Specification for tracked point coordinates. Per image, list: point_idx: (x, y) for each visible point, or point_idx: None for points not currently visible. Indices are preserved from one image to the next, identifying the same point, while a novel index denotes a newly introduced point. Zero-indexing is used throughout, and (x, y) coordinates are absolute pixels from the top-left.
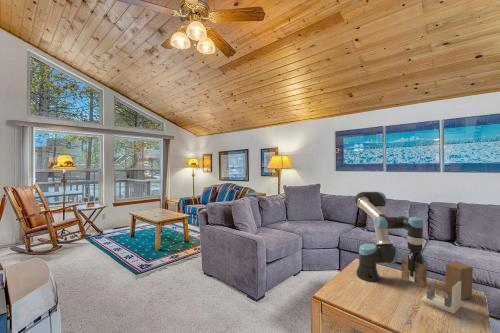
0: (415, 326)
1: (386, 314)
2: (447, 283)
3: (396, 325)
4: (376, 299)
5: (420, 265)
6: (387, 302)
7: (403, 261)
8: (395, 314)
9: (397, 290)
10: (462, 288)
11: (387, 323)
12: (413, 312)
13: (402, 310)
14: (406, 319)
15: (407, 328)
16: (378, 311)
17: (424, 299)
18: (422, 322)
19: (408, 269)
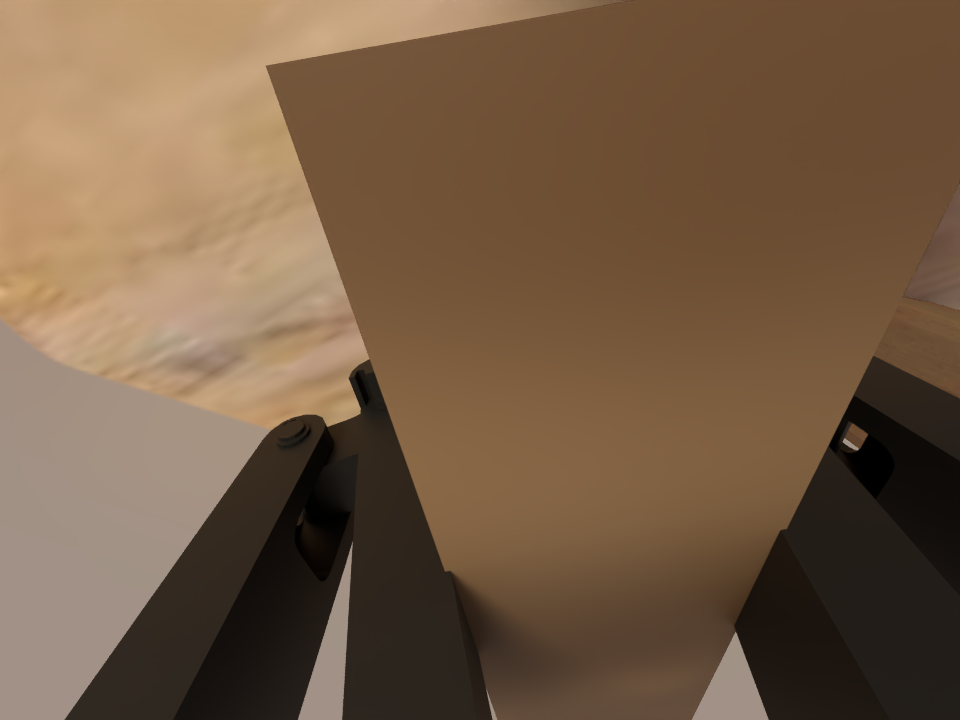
0: (221, 401)
1: (86, 246)
2: (912, 340)
3: (91, 352)
4: (125, 10)
5: (561, 701)
6: (222, 127)
7: (343, 202)
8: (170, 279)
9: (538, 16)
10: (851, 442)
11: (29, 315)
12: (335, 323)
13: (271, 273)
14: (215, 345)
15: (152, 392)
16: (26, 184)
17: None
18: (298, 398)
19: (269, 453)
